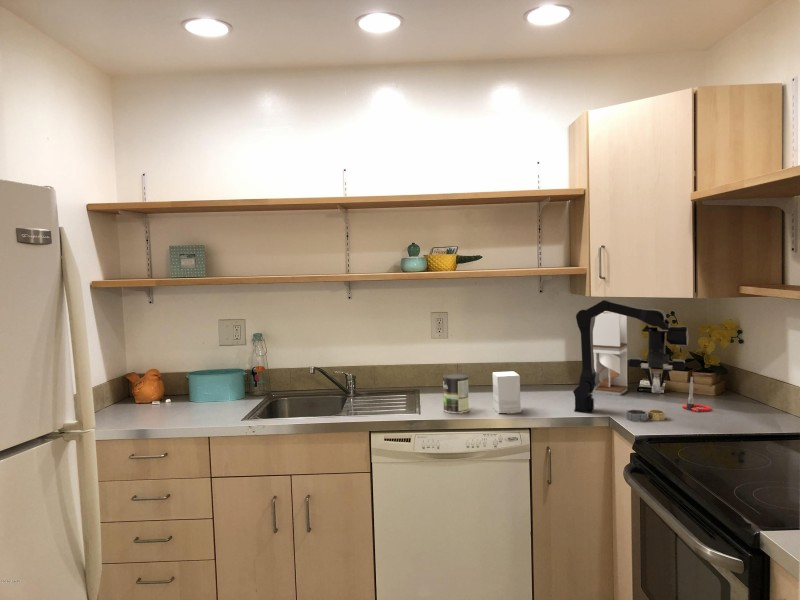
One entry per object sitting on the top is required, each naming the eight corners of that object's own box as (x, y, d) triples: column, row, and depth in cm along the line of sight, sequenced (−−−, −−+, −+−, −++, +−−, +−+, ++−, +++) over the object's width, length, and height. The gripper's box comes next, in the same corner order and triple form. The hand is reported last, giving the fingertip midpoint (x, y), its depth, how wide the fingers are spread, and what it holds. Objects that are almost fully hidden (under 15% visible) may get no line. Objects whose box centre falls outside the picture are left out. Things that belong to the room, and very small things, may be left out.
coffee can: (445, 414, 226) (444, 378, 225) (441, 407, 236) (440, 373, 235) (471, 413, 226) (470, 377, 225) (466, 406, 237) (465, 372, 236)
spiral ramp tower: (593, 392, 254) (592, 313, 251) (601, 387, 262) (600, 311, 260) (620, 395, 247) (619, 314, 244) (627, 390, 255) (626, 311, 253)
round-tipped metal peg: (651, 392, 209) (651, 373, 209) (651, 390, 212) (651, 372, 211) (660, 393, 208) (660, 374, 207) (661, 391, 210) (661, 372, 210)
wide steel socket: (625, 420, 209) (625, 413, 209) (627, 415, 215) (627, 409, 215) (646, 422, 206) (646, 415, 206) (647, 417, 212) (647, 410, 212)
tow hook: (698, 406, 227) (680, 407, 224) (700, 374, 226) (681, 375, 223) (716, 411, 219) (697, 413, 216) (718, 378, 218) (699, 379, 215)
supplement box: (515, 407, 233) (514, 370, 232) (521, 413, 224) (520, 375, 223) (492, 408, 232) (492, 371, 231) (498, 414, 223) (497, 376, 222)
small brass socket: (647, 419, 209) (647, 412, 209) (648, 415, 214) (648, 409, 214) (664, 421, 207) (664, 414, 207) (665, 417, 212) (665, 410, 212)
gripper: (626, 346, 205) (626, 389, 207) (685, 348, 197) (684, 393, 198) (629, 341, 215) (629, 383, 216) (685, 344, 207) (684, 386, 208)
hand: (656, 386), depth 210 cm, fingers closed on round-tipped metal peg, 3 cm apart
